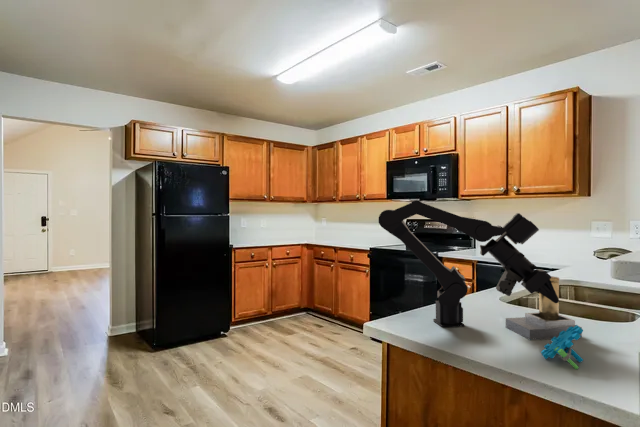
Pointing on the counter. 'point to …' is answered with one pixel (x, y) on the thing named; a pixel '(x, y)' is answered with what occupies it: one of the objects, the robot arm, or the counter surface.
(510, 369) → the counter surface
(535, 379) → the counter surface
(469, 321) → the counter surface
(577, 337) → the blue green toy
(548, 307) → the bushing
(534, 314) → the jig
